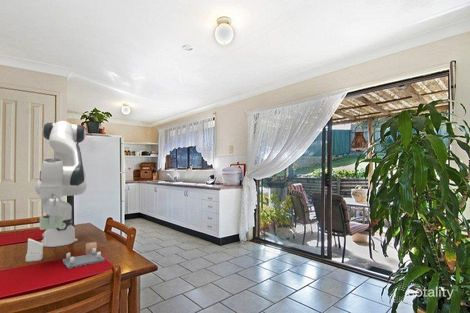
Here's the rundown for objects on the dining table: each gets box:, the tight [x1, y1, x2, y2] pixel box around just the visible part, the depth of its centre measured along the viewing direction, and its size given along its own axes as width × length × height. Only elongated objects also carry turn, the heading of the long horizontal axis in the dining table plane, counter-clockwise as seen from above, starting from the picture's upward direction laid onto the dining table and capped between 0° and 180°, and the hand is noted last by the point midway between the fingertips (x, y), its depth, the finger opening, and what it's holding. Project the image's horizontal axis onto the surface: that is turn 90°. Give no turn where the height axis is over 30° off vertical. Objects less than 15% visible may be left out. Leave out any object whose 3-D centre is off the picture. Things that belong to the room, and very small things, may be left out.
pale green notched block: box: [38, 215, 62, 231], centre depth 121 cm, size 5×8×6 cm, turn 133°
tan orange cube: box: [85, 241, 98, 255], centre depth 137 cm, size 5×5×5 cm
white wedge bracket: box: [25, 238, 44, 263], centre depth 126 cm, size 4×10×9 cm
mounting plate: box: [61, 248, 106, 270], centre depth 124 cm, size 13×15×4 cm
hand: (50, 223), depth 120 cm, fingers closed on pale green notched block, 5 cm apart
